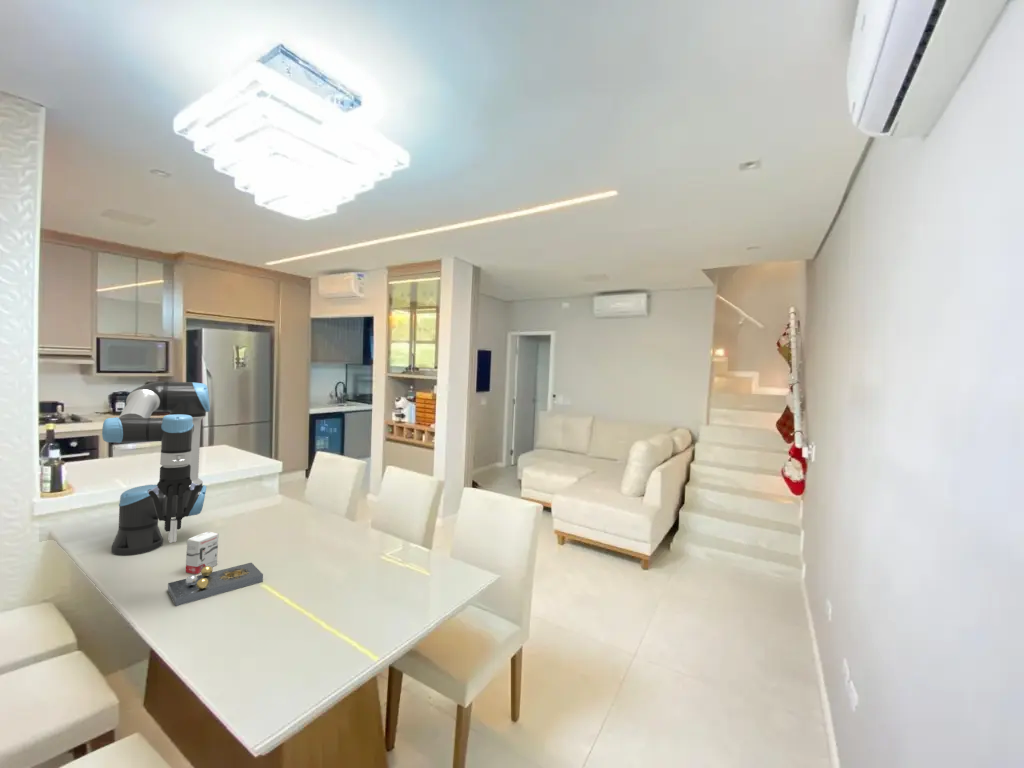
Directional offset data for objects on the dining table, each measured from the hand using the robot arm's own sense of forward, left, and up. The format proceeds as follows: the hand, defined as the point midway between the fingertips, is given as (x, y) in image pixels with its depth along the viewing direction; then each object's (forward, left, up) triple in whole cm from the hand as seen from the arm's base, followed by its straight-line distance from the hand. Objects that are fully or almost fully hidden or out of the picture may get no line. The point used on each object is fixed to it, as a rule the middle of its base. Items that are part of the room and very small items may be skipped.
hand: (172, 540), depth 135 cm
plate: (0, +13, -18) cm, 22 cm away
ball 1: (-4, +11, -14) cm, 18 cm away
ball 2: (+4, +8, -14) cm, 17 cm away
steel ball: (0, +6, -14) cm, 15 cm away
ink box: (-17, +12, -19) cm, 28 cm away
